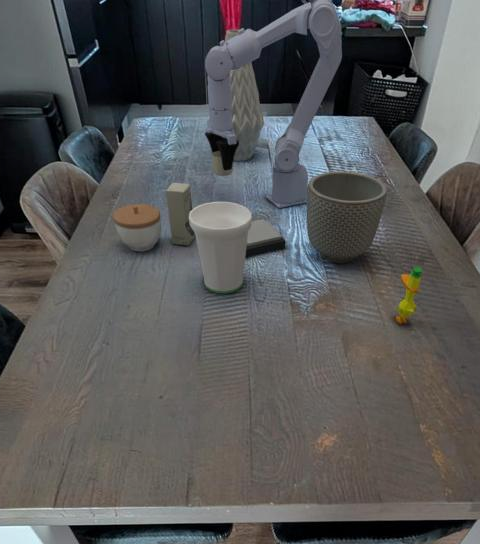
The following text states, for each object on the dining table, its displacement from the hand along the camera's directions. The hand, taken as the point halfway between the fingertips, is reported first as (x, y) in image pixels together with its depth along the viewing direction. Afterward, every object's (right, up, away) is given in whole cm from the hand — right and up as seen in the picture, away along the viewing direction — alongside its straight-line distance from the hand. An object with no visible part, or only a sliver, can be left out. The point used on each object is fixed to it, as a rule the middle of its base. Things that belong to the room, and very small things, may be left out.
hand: (222, 165), depth 128 cm
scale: (+8, -25, -11) cm, 28 cm away
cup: (+2, -39, -24) cm, 45 cm away
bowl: (0, -1, +1) cm, 2 cm away
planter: (+29, -29, -14) cm, 43 cm away
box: (-9, -24, -11) cm, 28 cm away
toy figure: (+39, -48, -31) cm, 70 cm away
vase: (+3, +18, +30) cm, 35 cm away
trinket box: (-18, -26, -13) cm, 35 cm away
